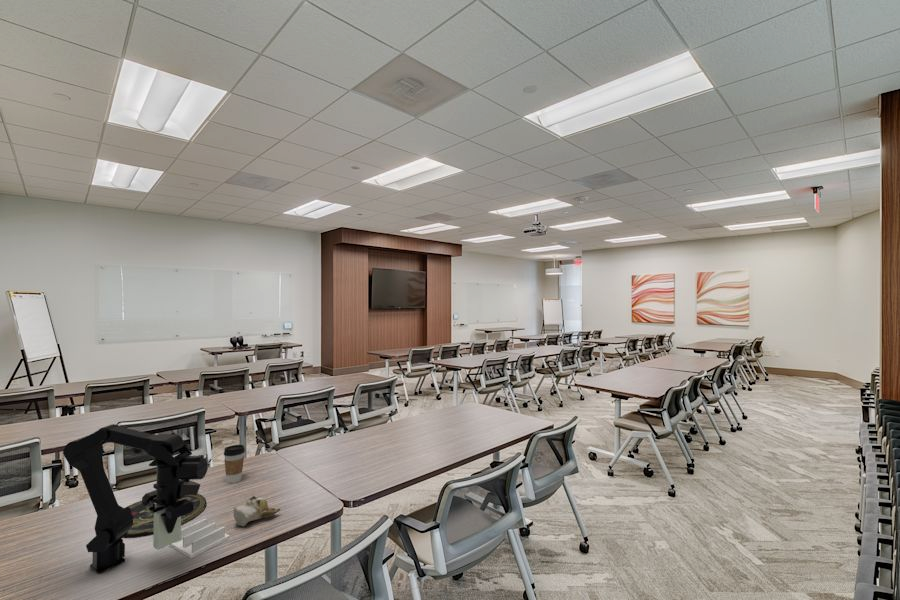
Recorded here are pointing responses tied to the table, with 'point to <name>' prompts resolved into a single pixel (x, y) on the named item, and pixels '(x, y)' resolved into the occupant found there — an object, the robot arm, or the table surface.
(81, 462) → the robot arm
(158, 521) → the sage tile
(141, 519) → the decorative plate
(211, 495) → the table surface
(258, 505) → the ceramic sculpture
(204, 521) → the dish rack
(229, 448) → the coffee cup
